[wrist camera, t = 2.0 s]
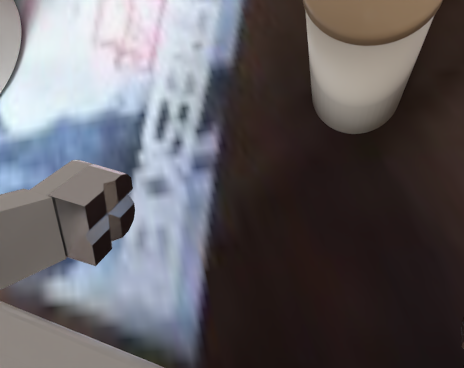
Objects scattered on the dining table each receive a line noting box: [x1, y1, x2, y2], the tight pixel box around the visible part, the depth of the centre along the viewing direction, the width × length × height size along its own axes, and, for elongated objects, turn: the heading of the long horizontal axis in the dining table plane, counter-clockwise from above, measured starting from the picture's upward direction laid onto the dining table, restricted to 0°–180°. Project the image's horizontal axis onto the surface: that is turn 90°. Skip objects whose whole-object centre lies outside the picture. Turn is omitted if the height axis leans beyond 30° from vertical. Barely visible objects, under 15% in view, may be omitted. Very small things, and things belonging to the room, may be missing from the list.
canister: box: [302, 0, 443, 134], centre depth 20 cm, size 5×5×11 cm
